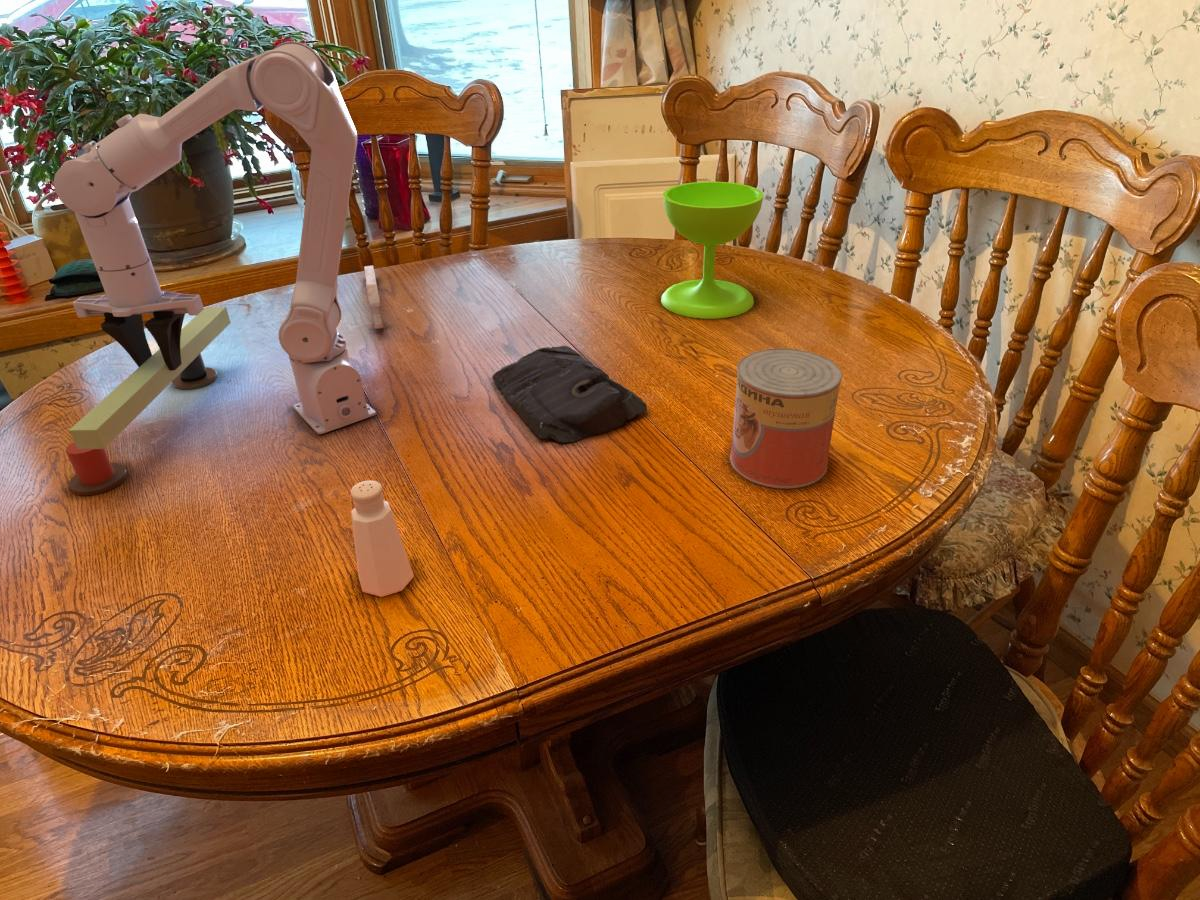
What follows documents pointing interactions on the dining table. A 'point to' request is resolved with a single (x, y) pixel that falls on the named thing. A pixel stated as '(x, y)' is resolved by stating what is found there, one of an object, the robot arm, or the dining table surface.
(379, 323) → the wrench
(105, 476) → the red top hat
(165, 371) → the bar
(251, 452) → the dining table surface
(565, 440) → the black fabric pouch
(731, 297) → the wineglass
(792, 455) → the canned food
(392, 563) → the pepper shaker
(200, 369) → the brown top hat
